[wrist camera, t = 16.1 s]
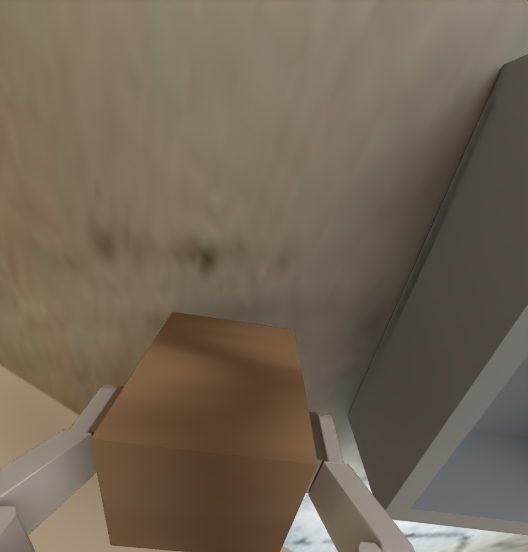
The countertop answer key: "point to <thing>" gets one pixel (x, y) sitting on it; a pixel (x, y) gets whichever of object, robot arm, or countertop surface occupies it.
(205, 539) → the cube
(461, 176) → the tote
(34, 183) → the countertop surface
